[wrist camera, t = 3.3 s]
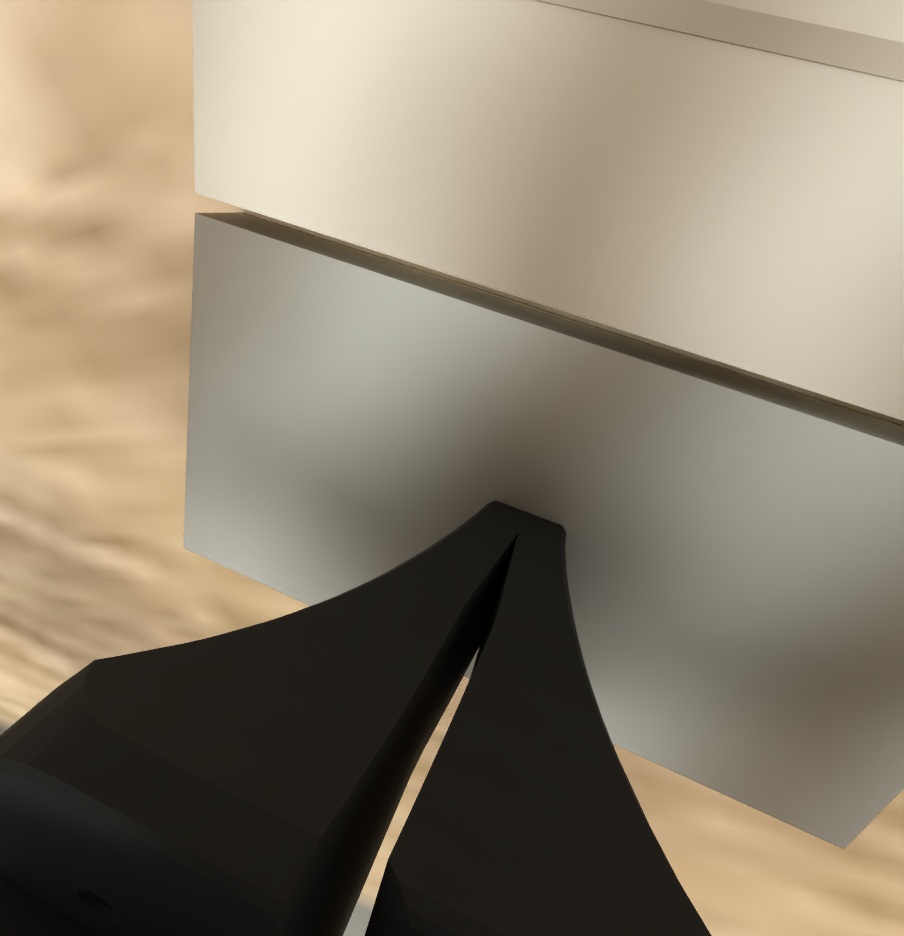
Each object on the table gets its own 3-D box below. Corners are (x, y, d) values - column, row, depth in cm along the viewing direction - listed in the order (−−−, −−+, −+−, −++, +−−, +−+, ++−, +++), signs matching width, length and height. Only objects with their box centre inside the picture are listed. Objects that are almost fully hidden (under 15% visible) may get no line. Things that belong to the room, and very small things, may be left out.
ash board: (1876, -317, 4) (2252, -468, 3) (1118, 465, 8) (1182, 512, 7) (257, -449, 7) (179, -556, 6) (242, 189, 11) (191, 193, 10)
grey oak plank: (1095, 488, 8) (1156, 529, 7) (828, 791, 12) (844, 849, 10) (240, 212, 11) (195, 213, 10) (219, 522, 14) (183, 547, 13)
